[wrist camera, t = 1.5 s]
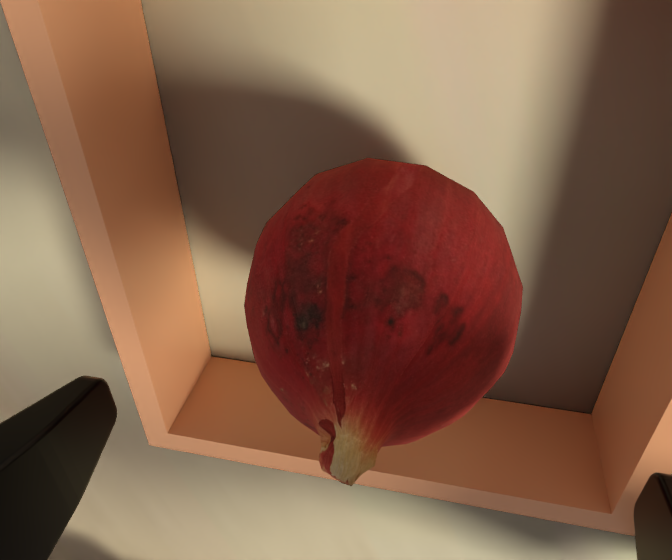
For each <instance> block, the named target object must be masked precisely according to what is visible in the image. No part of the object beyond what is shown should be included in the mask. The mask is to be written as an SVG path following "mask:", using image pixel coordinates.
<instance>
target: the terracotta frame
mask: <svg viewBox="0 0 672 560" xmlns="http://www.w3.org/2000/svg"><path fill="white" fill-rule="evenodd" d="M0 2H1V5H2V8H3V11H4V14H5V17H6V20H7V23H8V26H9V29H10V32H11V35H12V38H13V41H14V44H15V47H16V50H17V53H18V56H19V59H20V62H21V65H22V68H23V71H24V74H25V77H26V80H27V83H28V86H29V89H30V92H31V95H32V97H33V100H34V103H35V106H36V109H37V112H38V115H39V118H40V121H41V124H42V127H43V130H44V133H45V136H46V139H47V142H48V145H49V148H50V151H51V154H52V157H53V160H54V163H55V166H56V169H57V172H58V175H59V178H60V181H61V184H62V187H63V190H64V193H65V196H66V199H67V202H68V205H69V208H70V211H71V214H72V217H73V219H74V222H75V225H76V228H77V231H78V234H79V237H80V240H81V243H82V246H83V249H84V252H85V255H86V258H87V261H88V264H89V267H90V270H91V273H92V276H93V279H94V282H95V285H96V288H97V291H98V294H99V297H100V300H101V303H102V306H103V309H104V312H105V315H106V318H107V321H108V324H109V327H110V330H111V333H112V336H113V339H114V341H115V344H116V347H117V350H118V353H119V356H120V359H121V362H122V365H123V368H124V371H125V374H126V377H127V380H128V383H129V386H130V389H131V392H132V395H133V398H134V401H135V404H136V407H137V410H138V413H139V416H140V419H141V422H142V425H143V428H144V431H145V434H146V437H147V440H148V443H149V445H151V446H157V447H162V448H167V449H173V450H178V451H183V452H189V453H194V454H199V455H205V456H210V457H215V458H221V459H226V460H231V461H237V462H242V463H247V464H253V465H258V466H263V467H269V468H274V469H279V470H285V471H290V472H295V473H301V474H306V475H311V476H317V477H322V478H327V479H333V480H336V479H335V478H333V477H332V476H331V475H329V474H328V473H326V472H324V471H322V469H321V466H320V463H319V453H320V450H321V438H320V436H319V435H318V434H316V433H315V432H313V431H312V430H311V429H309V428H308V427H306V426H305V425H303V424H302V423H300V422H299V421H298V420H297V419H296V418H295V417H293V416H292V415H291V414H290V413H289V412H288V410H287V409H286V408H285V407H284V405H283V404H282V403H281V402H280V400H279V399H278V398H277V397H276V395H275V394H274V393H273V392H272V390H271V389H270V387H269V386H268V385H267V383H266V382H265V380H264V379H263V377H262V376H261V373H260V371H259V369H258V366H257V364H256V363H251V362H245V361H238V360H231V359H225V358H218V357H212V356H211V351H210V346H209V341H208V336H207V331H206V326H205V321H204V316H203V311H202V306H201V301H200V296H199V291H198V286H197V281H196V276H195V271H194V266H193V261H192V256H191V251H190V246H189V241H188V236H187V231H186V226H185V220H184V215H183V210H182V205H181V200H180V195H179V190H178V185H177V180H176V175H175V170H174V165H173V160H172V155H171V150H170V145H169V140H168V135H167V130H166V125H165V120H164V115H163V110H162V105H161V100H160V95H159V90H158V85H157V80H156V75H155V70H154V65H153V60H152V55H151V50H150V45H149V40H148V35H147V30H146V25H145V20H144V15H143V10H142V5H141V0H0ZM655 472H659V473H665V474H671V473H672V214H671V216H670V219H669V221H668V224H667V226H666V229H665V231H664V234H663V236H662V239H661V241H660V244H659V246H658V249H657V251H656V253H655V256H654V258H653V261H652V263H651V266H650V268H649V271H648V273H647V276H646V278H645V281H644V283H643V286H642V288H641V291H640V293H639V296H638V298H637V301H636V303H635V306H634V308H633V311H632V313H631V316H630V318H629V321H628V323H627V326H626V328H625V331H624V333H623V336H622V338H621V341H620V343H619V346H618V348H617V351H616V353H615V356H614V358H613V361H612V363H611V366H610V368H609V371H608V373H607V376H606V378H605V381H604V383H603V386H602V388H601V391H600V393H599V396H598V398H597V401H596V403H595V406H594V408H593V411H592V413H591V414H586V413H580V412H573V411H566V410H560V409H553V408H547V407H540V406H534V405H527V404H521V403H514V402H507V401H501V400H494V399H488V398H481V399H480V400H479V401H478V402H477V403H476V404H475V405H474V406H473V407H472V408H471V409H470V410H469V411H468V412H467V413H466V414H465V415H464V416H463V417H461V418H460V419H458V420H457V421H455V422H454V423H452V424H450V425H449V426H447V427H444V428H442V429H440V430H438V431H436V432H434V433H432V434H430V435H428V436H426V437H424V438H421V439H419V440H417V441H414V442H411V443H408V444H403V445H394V446H386V447H381V449H380V450H379V452H378V453H377V458H376V462H375V466H374V467H372V468H371V469H369V470H368V471H366V472H365V473H363V474H362V475H360V477H359V478H358V479H357V480H356V481H355V483H354V484H359V485H365V486H370V487H375V488H381V489H386V490H391V491H397V492H402V493H407V494H413V495H418V496H423V497H429V498H434V499H439V500H445V501H450V502H455V503H461V504H466V505H471V506H477V507H482V508H487V509H493V510H498V511H503V512H509V513H514V514H519V515H524V516H530V517H535V518H540V519H546V520H551V521H556V522H562V523H567V524H572V525H578V526H583V527H588V528H594V529H599V530H604V531H610V532H615V533H620V534H626V535H631V536H635V528H634V506H635V503H636V500H637V499H638V497H639V495H640V493H641V491H642V489H643V488H644V486H645V484H646V482H647V480H648V478H649V477H650V476H651V475H652V474H653V473H655Z"/></svg>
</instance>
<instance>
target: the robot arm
mask: <svg viewBox="0 0 672 560" xmlns="http://www.w3.org/2000/svg"><path fill="white" fill-rule="evenodd" d="M116 417H117V408H116V405H115V402H114V400H113V397H112V394H111V392H110V389H109V386H108V384H107V382H106V381H105V380H104V379H102V378H97V377H91V376H81V377H78V378H76V379H75V380H73V381H71V382H70V383H68V384H66V385H65V386H63V387H61V388H59V389H58V390H56V391H54V392H53V393H51V394H49V395H48V396H46V397H44V398H43V399H41V400H39V401H38V402H36V403H34V404H32V405H31V406H29V407H27V408H26V409H24V410H22V411H21V412H19V413H17V414H16V415H14V416H12V417H10V418H9V419H7V420H5V421H4V422H2V423H0V560H47V559H48V557H49V556H50V554H51V552H52V550H53V549H54V547H55V545H56V543H57V542H58V540H59V538H60V536H61V534H62V533H63V531H64V529H65V527H66V526H67V524H68V522H69V520H70V518H71V517H72V515H73V513H74V511H75V509H76V508H77V506H78V504H79V502H80V500H81V498H82V496H83V494H84V492H85V490H86V487H87V485H88V483H89V481H90V478H91V476H92V474H93V472H94V469H95V467H96V465H97V463H98V460H99V458H100V456H101V453H102V451H103V449H104V447H105V444H106V442H107V440H108V438H109V435H110V433H111V431H112V429H113V426H114V424H115V421H116ZM634 528H635V539H636V550H637V560H672V475H671V474H665V473H659V472H655V473H653V474H652V475H651V476H650V477H649V478H648V480H647V482H646V484H645V486H644V488H643V489H642V491H641V493H640V495H639V497H638V499H637V500H636V503H635V506H634Z"/></svg>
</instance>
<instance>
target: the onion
mask: <svg viewBox="0 0 672 560" xmlns="http://www.w3.org/2000/svg"><path fill="white" fill-rule="evenodd" d="M522 291H523V286H522V283H521V280H520V277H519V274H518V271H517V268H516V265H515V262H514V259H513V256H512V252H511V249H510V246H509V243H508V241H507V238H506V235H505V232H504V229H503V227H502V226H501V224H500V223H499V222H498V221H497V220H496V218H495V217H494V216H493V215H492V213H491V212H490V211H489V210H488V209H487V207H486V206H485V205H484V204H483V202H482V201H481V200H480V199H479V198H478V196H477V195H476V194H475V193H474V192H473V191H471V190H469V189H468V188H466V187H464V186H462V185H460V184H458V183H457V182H455V181H453V180H451V179H449V178H447V177H446V176H444V175H442V174H440V173H438V172H436V171H435V170H433V169H431V168H429V167H427V166H425V165H417V164H410V163H403V162H396V161H388V160H381V159H374V158H366V159H362V160H359V161H356V162H353V163H350V164H347V165H343V166H340V167H337V168H334V169H331V170H328V171H324V172H321V173H318V174H316V175H315V176H314V177H312V178H311V179H310V180H309V181H308V182H307V183H306V184H305V185H304V186H303V187H302V188H301V189H300V190H299V191H298V192H297V193H296V194H295V195H294V196H293V197H292V198H291V199H290V200H289V201H288V202H287V203H286V204H285V205H284V206H283V207H282V208H281V209H280V210H279V211H278V212H277V213H276V214H275V215H274V216H273V217H272V218H271V219H270V220H269V221H268V222H267V223H266V225H265V227H264V229H263V231H262V233H261V235H260V238H259V240H258V242H257V244H256V247H255V251H254V256H253V260H252V265H251V269H250V274H249V278H248V283H247V289H246V296H245V304H244V307H245V315H246V322H247V328H248V332H249V337H250V341H251V345H252V350H253V354H254V358H255V361H256V364H257V366H258V369H259V371H260V373H261V376H262V377H263V379H264V380H265V382H266V383H267V385H268V386H269V387H270V389H271V390H272V392H273V393H274V394H275V395H276V397H277V398H278V399H279V400H280V402H281V403H282V404H283V405H284V407H285V408H286V409H287V410H288V412H289V413H290V414H291V415H292V416H293V417H295V418H296V419H297V420H298V421H299V422H300V423H302V424H303V425H305V426H306V427H308V428H309V429H311V430H312V431H313V432H315V433H316V434H318V435H319V436H320V438H321V450H320V453H319V463H320V466H321V469H322V471H324V472H326V473H328V474H329V475H331V476H332V477H333V478H335V479H336V480H338V481H339V482H341V483H344V484H347V485H350V486H352V485H353V484H354V483H355V481H356V480H357V479H358V478H359V477H360V475H362V474H363V473H365V472H366V471H368V470H369V469H371V468H372V467H374V466H375V462H376V458H377V453H378V452H379V450H380V449H381V447H386V446H394V445H403V444H408V443H411V442H414V441H417V440H419V439H421V438H424V437H426V436H428V435H430V434H432V433H434V432H436V431H438V430H440V429H442V428H444V427H447V426H449V425H450V424H452V423H454V422H455V421H457V420H458V419H460V418H461V417H463V416H464V415H465V414H466V413H467V412H468V411H469V410H470V409H471V408H472V407H473V406H474V405H475V404H476V403H477V402H478V401H479V400H480V399H481V398H482V397H483V396H484V395H485V394H486V393H487V392H488V391H489V390H490V389H491V388H492V386H493V385H494V384H495V383H496V382H497V380H498V379H499V378H500V377H501V376H502V374H503V373H504V372H505V370H506V368H507V365H508V363H509V361H510V358H511V356H512V354H513V350H514V345H515V340H516V335H517V330H518V324H519V319H520V314H521V305H522Z"/></svg>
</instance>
